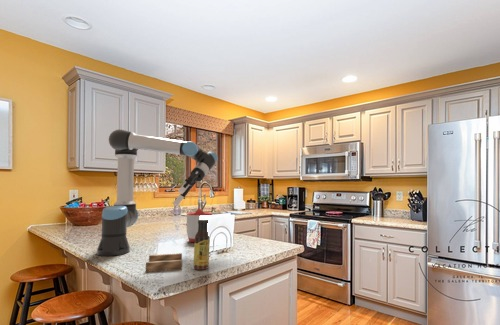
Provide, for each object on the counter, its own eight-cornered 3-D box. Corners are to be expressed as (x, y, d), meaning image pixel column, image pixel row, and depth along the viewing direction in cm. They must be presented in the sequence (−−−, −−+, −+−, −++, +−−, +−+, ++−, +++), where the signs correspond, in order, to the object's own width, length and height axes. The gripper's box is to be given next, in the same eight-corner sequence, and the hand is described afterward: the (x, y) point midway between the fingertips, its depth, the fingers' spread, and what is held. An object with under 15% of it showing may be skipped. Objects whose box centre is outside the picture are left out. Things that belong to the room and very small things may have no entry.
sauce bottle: (199, 271, 114) (200, 221, 115) (190, 268, 118) (191, 220, 119) (212, 268, 119) (212, 219, 120) (202, 265, 123) (203, 218, 124)
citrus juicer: (206, 244, 165) (207, 209, 167) (180, 242, 171) (181, 209, 172) (218, 239, 180) (218, 207, 181) (194, 238, 185) (194, 207, 187)
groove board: (145, 271, 114) (145, 262, 114) (149, 262, 126) (149, 255, 127) (181, 269, 117) (181, 260, 117) (181, 260, 130) (181, 253, 130)
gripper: (211, 163, 150) (189, 191, 135) (199, 186, 168) (178, 213, 154) (199, 155, 150) (175, 182, 135) (188, 179, 168) (167, 205, 154)
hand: (177, 198), depth 144 cm, fingers open, 13 cm apart
